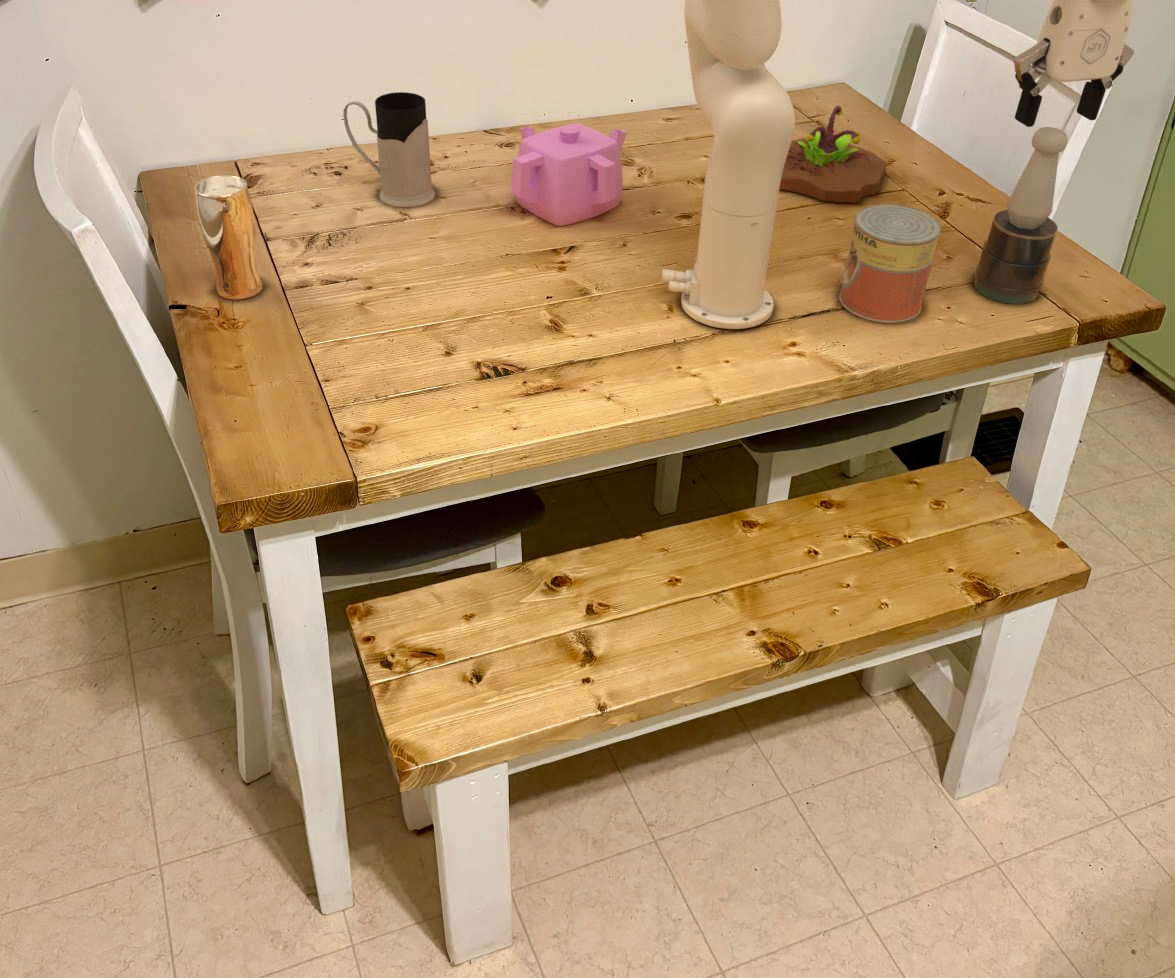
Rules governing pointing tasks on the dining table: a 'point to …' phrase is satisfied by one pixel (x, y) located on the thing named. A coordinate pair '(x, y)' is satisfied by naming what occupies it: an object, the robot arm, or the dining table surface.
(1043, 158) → the salt shaker
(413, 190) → the glass holder
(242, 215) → the beer glass
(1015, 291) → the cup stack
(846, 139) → the plant
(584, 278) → the dining table surface
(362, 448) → the dining table surface
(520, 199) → the teakettle
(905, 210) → the canned food
